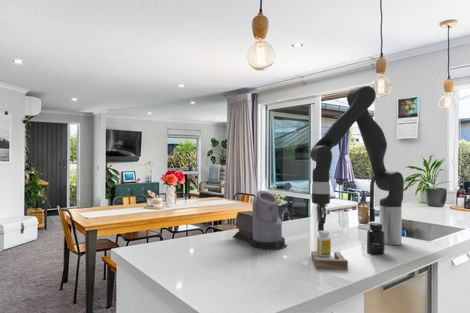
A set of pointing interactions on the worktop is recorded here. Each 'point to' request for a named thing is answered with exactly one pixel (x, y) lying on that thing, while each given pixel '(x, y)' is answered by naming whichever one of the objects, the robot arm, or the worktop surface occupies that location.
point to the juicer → (261, 224)
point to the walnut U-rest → (329, 261)
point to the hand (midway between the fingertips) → (320, 232)
